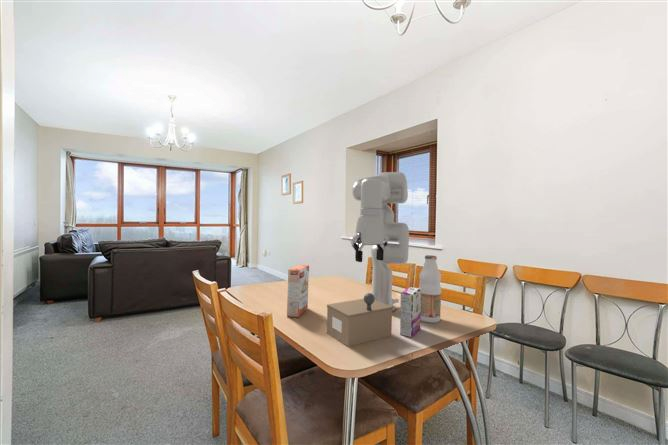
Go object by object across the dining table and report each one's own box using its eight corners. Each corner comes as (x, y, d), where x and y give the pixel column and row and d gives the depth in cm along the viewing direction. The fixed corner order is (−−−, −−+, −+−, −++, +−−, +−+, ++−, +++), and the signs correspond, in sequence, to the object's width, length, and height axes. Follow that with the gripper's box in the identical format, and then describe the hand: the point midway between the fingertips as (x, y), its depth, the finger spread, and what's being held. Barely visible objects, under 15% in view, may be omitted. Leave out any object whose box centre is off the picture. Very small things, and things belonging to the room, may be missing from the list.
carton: (367, 323, 126) (368, 299, 126) (391, 335, 114) (392, 309, 114) (326, 333, 115) (326, 306, 115) (347, 347, 103) (348, 317, 103)
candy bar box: (408, 326, 124) (409, 286, 124) (420, 328, 122) (421, 288, 121) (399, 335, 115) (400, 292, 114) (412, 338, 112) (413, 294, 112)
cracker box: (299, 318, 131) (300, 270, 131) (286, 316, 132) (287, 269, 132) (308, 308, 145) (309, 264, 144) (296, 307, 146) (297, 264, 145)
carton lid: (368, 299, 126) (369, 283, 126) (393, 309, 114) (393, 291, 114) (326, 306, 115) (327, 288, 115) (349, 318, 103) (349, 298, 103)
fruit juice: (417, 321, 130) (419, 256, 129) (417, 314, 139) (419, 254, 138) (441, 324, 127) (443, 258, 127) (439, 317, 136) (441, 255, 136)
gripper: (382, 214, 117) (380, 258, 117) (345, 212, 108) (343, 260, 108) (395, 214, 111) (394, 261, 111) (357, 212, 102) (356, 263, 102)
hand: (369, 260), depth 110 cm, fingers open, 9 cm apart
